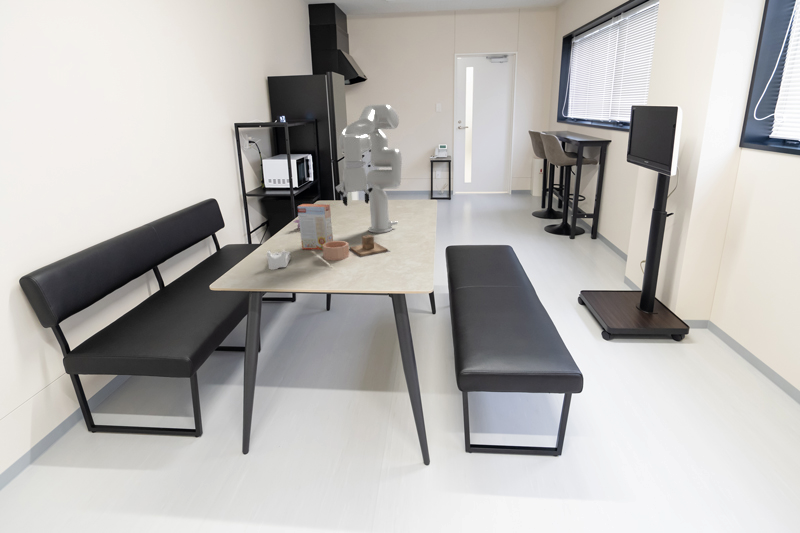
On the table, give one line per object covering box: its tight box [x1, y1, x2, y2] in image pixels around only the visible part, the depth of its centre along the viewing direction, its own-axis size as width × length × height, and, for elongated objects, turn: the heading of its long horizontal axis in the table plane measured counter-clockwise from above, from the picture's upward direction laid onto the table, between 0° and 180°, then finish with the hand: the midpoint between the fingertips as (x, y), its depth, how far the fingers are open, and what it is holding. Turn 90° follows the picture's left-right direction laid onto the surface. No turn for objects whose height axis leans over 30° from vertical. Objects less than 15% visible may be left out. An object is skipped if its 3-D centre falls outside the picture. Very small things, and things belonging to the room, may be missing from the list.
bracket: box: [266, 249, 291, 270], centre depth 200 cm, size 13×7×8 cm, turn 4°
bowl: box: [322, 240, 350, 261], centre depth 205 cm, size 11×11×6 cm
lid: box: [349, 234, 389, 257], centre depth 212 cm, size 13×13×6 cm
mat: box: [349, 248, 391, 258], centre depth 213 cm, size 15×15×1 cm
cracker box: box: [297, 203, 334, 251], centre depth 217 cm, size 14×6×21 cm, turn 71°
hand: (356, 204), depth 207 cm, fingers open, 9 cm apart
